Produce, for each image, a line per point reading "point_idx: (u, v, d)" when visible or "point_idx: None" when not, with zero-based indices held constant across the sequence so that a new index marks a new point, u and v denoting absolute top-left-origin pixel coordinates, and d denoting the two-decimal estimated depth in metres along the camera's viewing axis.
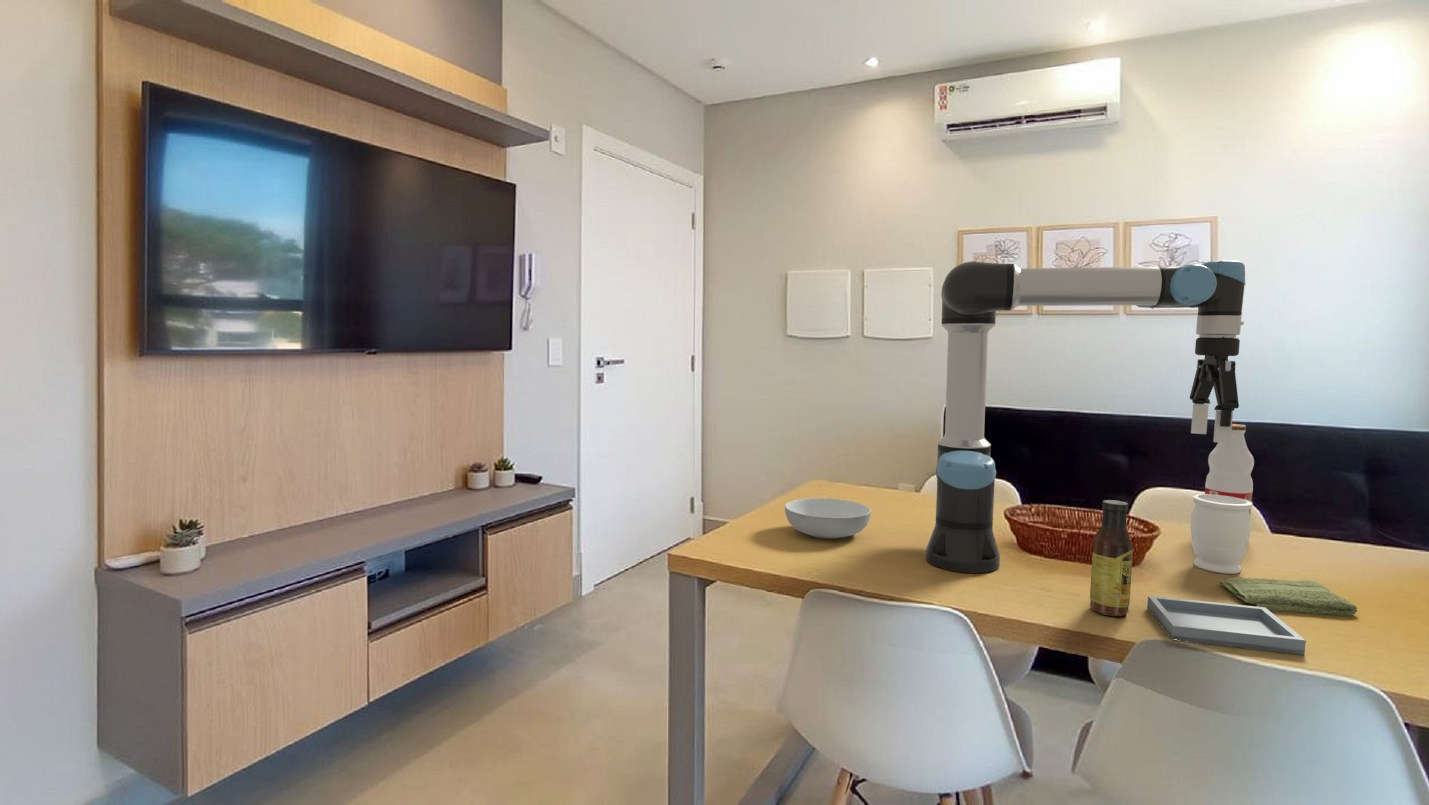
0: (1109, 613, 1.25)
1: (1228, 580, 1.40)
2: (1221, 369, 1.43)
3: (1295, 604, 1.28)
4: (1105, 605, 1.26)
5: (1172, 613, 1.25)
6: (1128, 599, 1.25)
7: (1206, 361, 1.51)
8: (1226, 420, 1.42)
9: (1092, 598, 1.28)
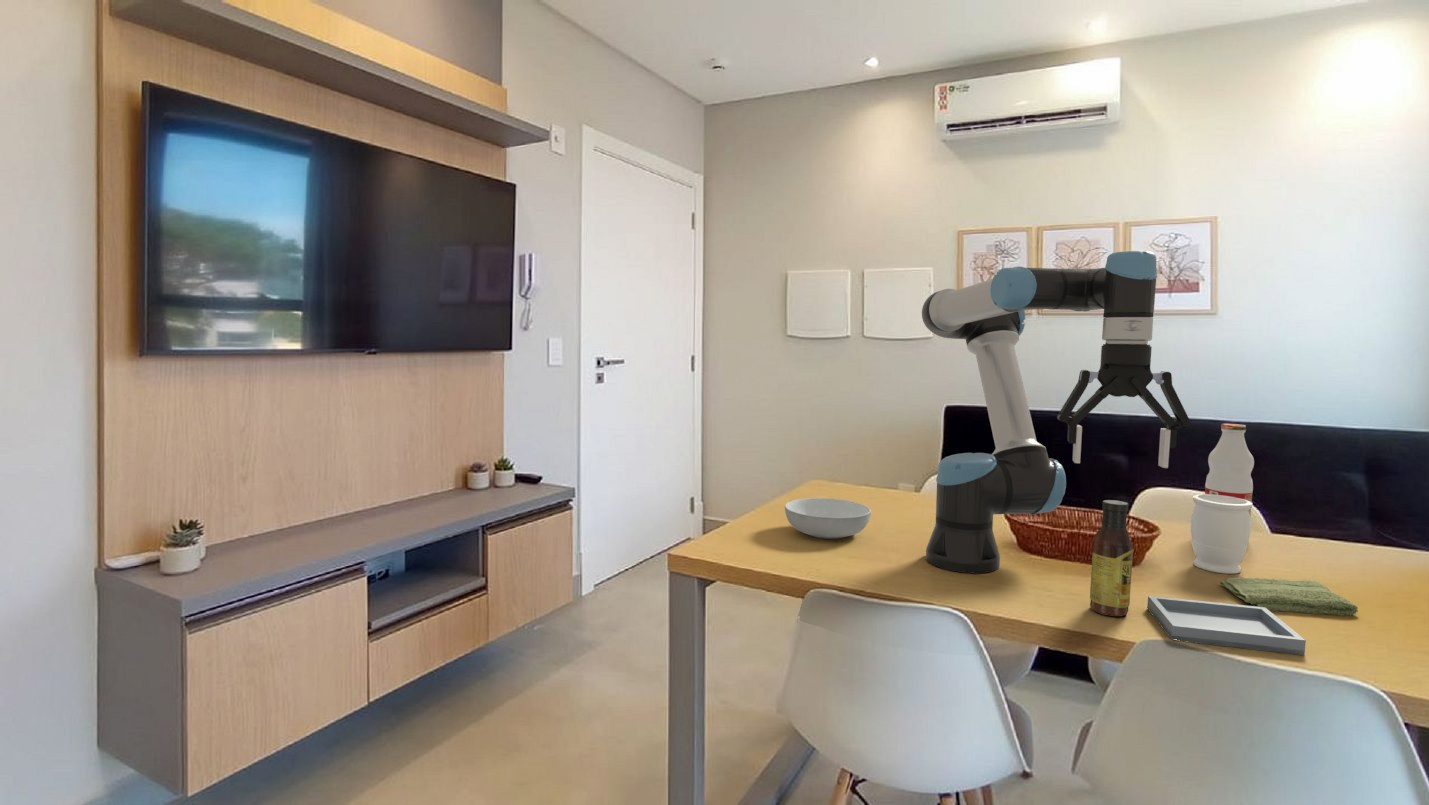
0: (1109, 613, 1.25)
1: (1228, 580, 1.40)
2: None
3: (1295, 604, 1.28)
4: (1105, 605, 1.26)
5: (1172, 613, 1.25)
6: (1128, 599, 1.25)
7: None
8: (1068, 435, 1.27)
9: (1092, 598, 1.28)
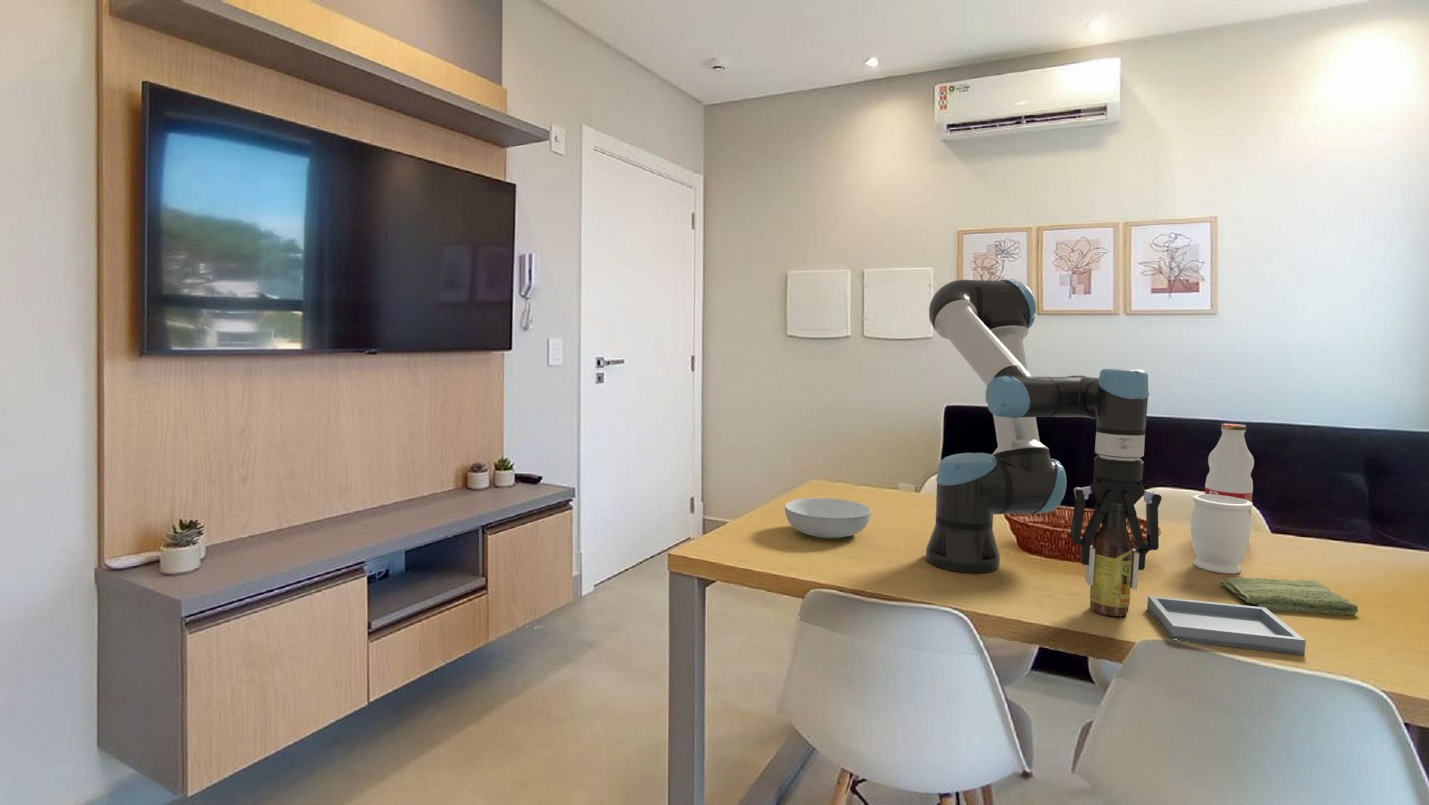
0: (1109, 613, 1.25)
1: (1229, 580, 1.40)
2: None
3: (1296, 604, 1.28)
4: (1105, 605, 1.26)
5: (1172, 613, 1.25)
6: (1128, 599, 1.25)
7: None
8: (1081, 556, 1.29)
9: (1092, 598, 1.28)
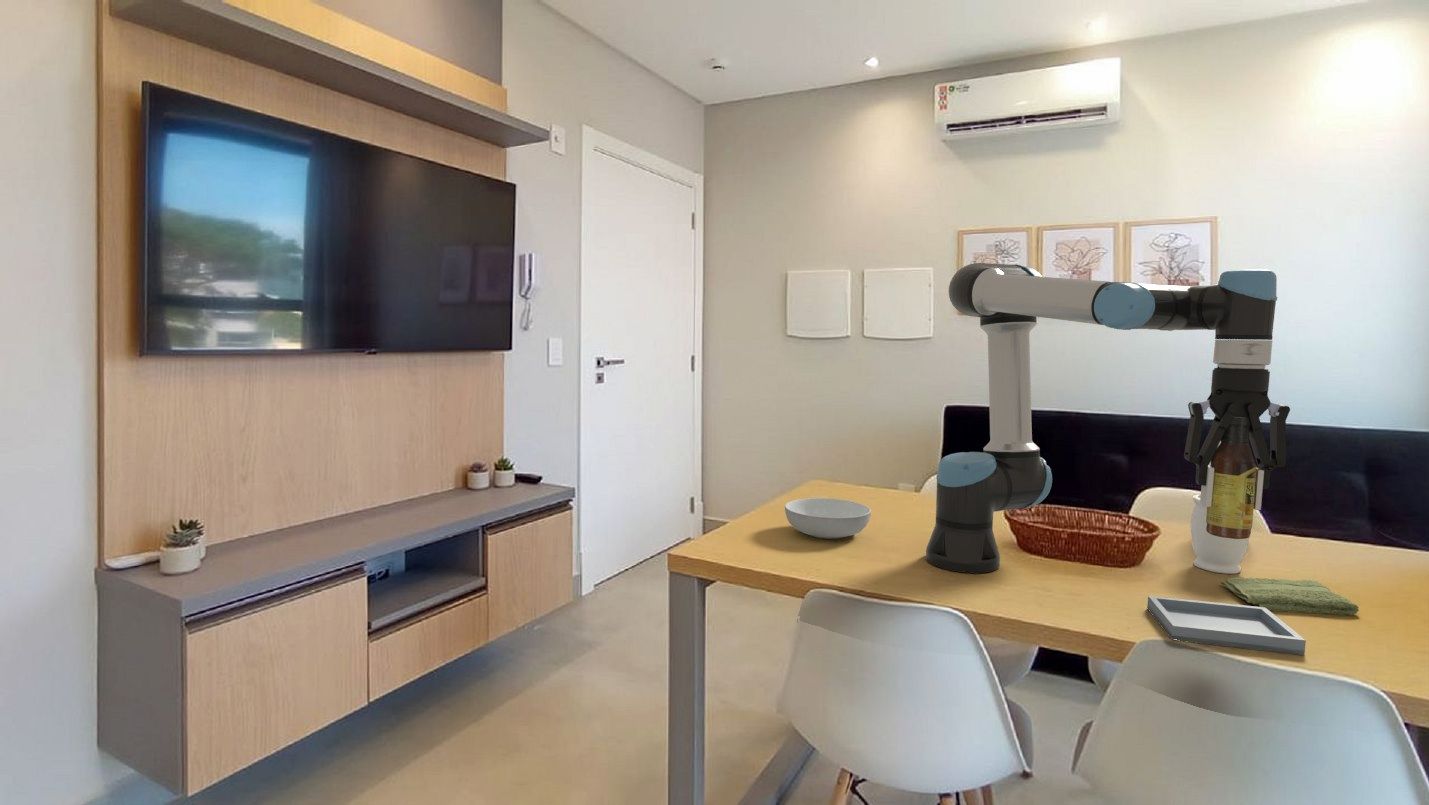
0: (1231, 535, 1.16)
1: (1229, 580, 1.40)
2: None
3: (1297, 604, 1.28)
4: (1226, 527, 1.16)
5: (1172, 613, 1.25)
6: (1251, 520, 1.16)
7: None
8: (1197, 476, 1.19)
9: (1210, 521, 1.18)
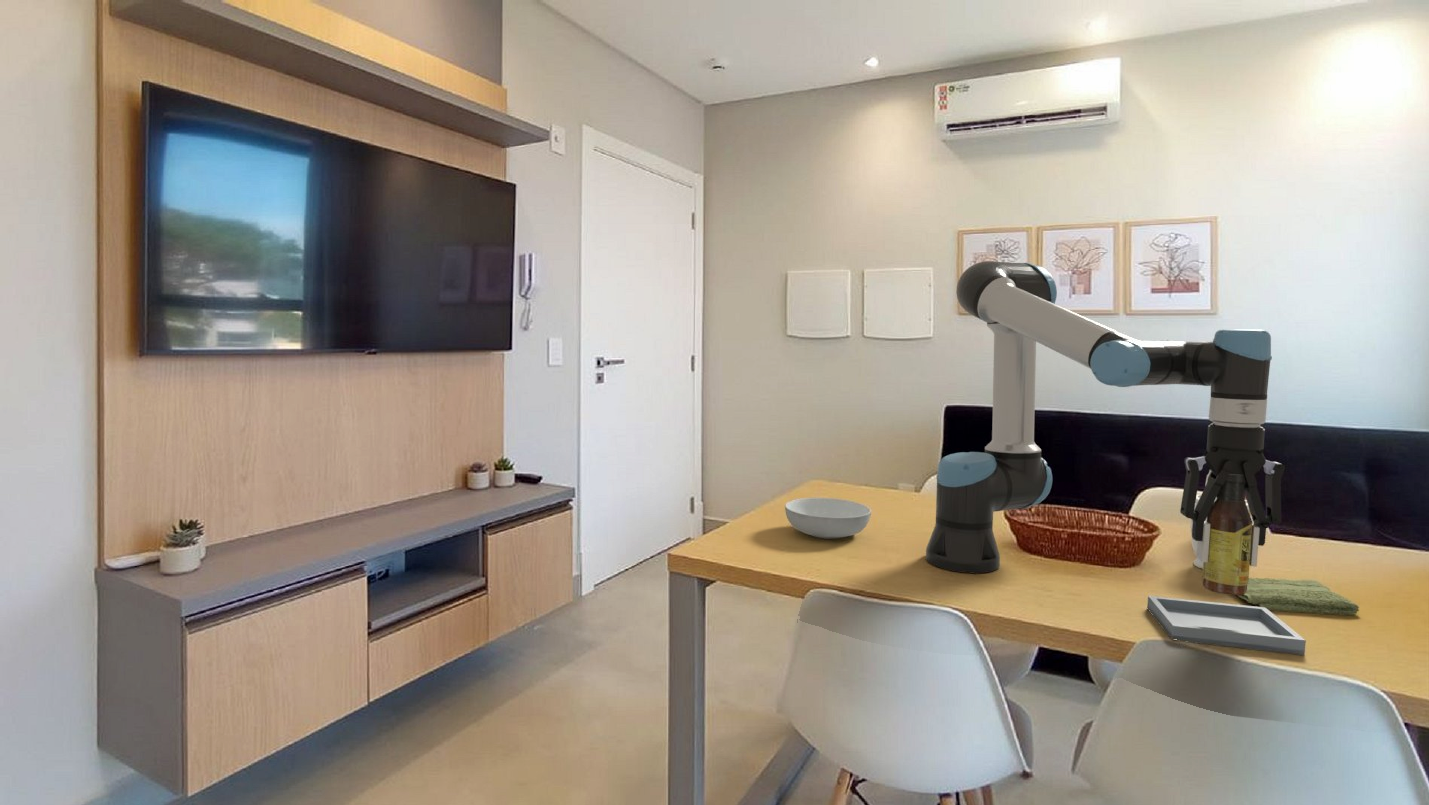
0: (1227, 592, 1.16)
1: None
2: None
3: (1297, 604, 1.29)
4: (1222, 584, 1.17)
5: (1172, 613, 1.25)
6: (1247, 577, 1.17)
7: None
8: (1193, 532, 1.20)
9: (1206, 576, 1.19)
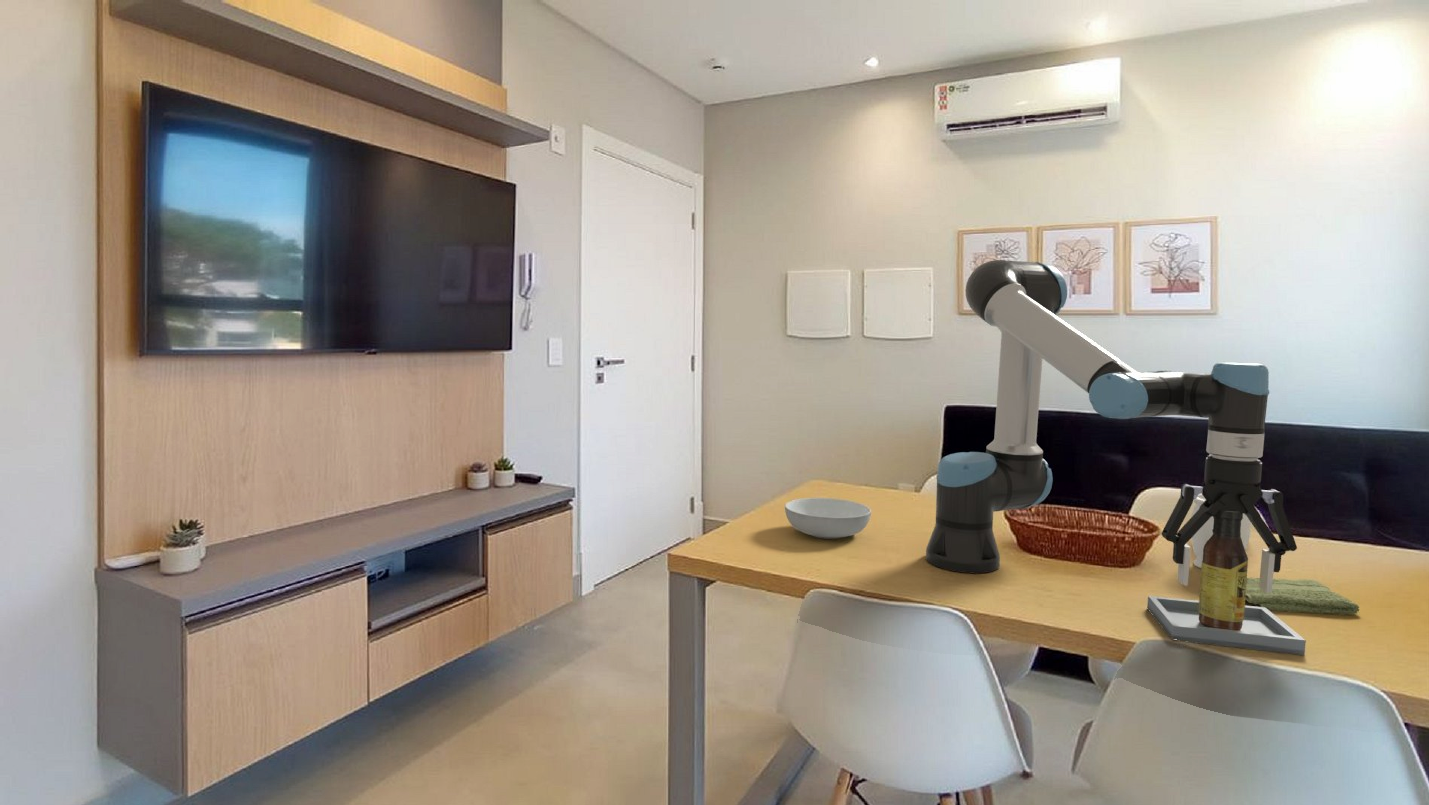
0: (1223, 628, 1.17)
1: None
2: None
3: (1298, 604, 1.29)
4: (1218, 620, 1.18)
5: (1172, 613, 1.25)
6: (1243, 613, 1.17)
7: None
8: (1174, 554, 1.21)
9: (1202, 612, 1.20)
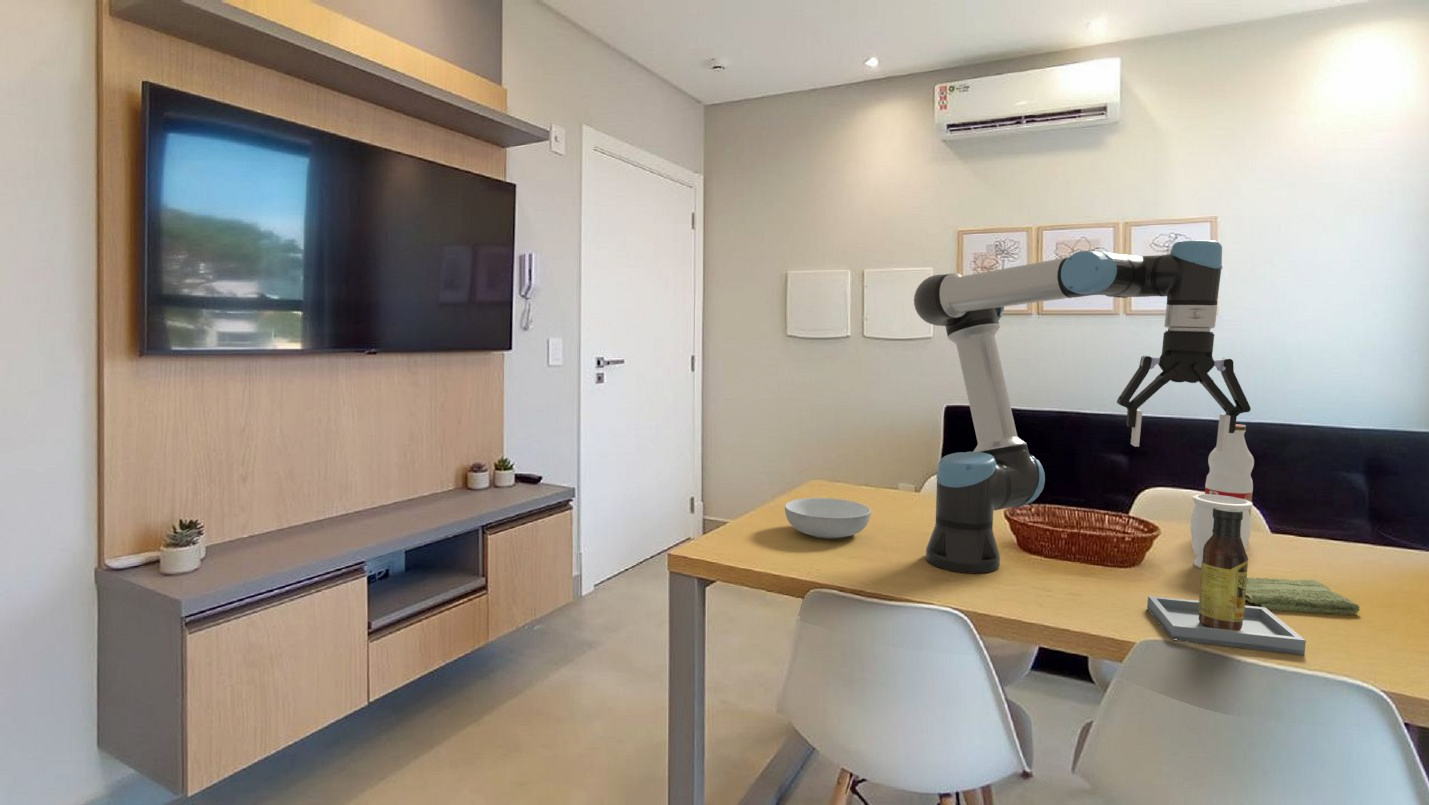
0: (1223, 628, 1.17)
1: None
2: None
3: (1299, 604, 1.29)
4: (1218, 620, 1.18)
5: (1172, 613, 1.25)
6: (1243, 613, 1.17)
7: None
8: (1127, 419, 1.31)
9: (1202, 612, 1.20)
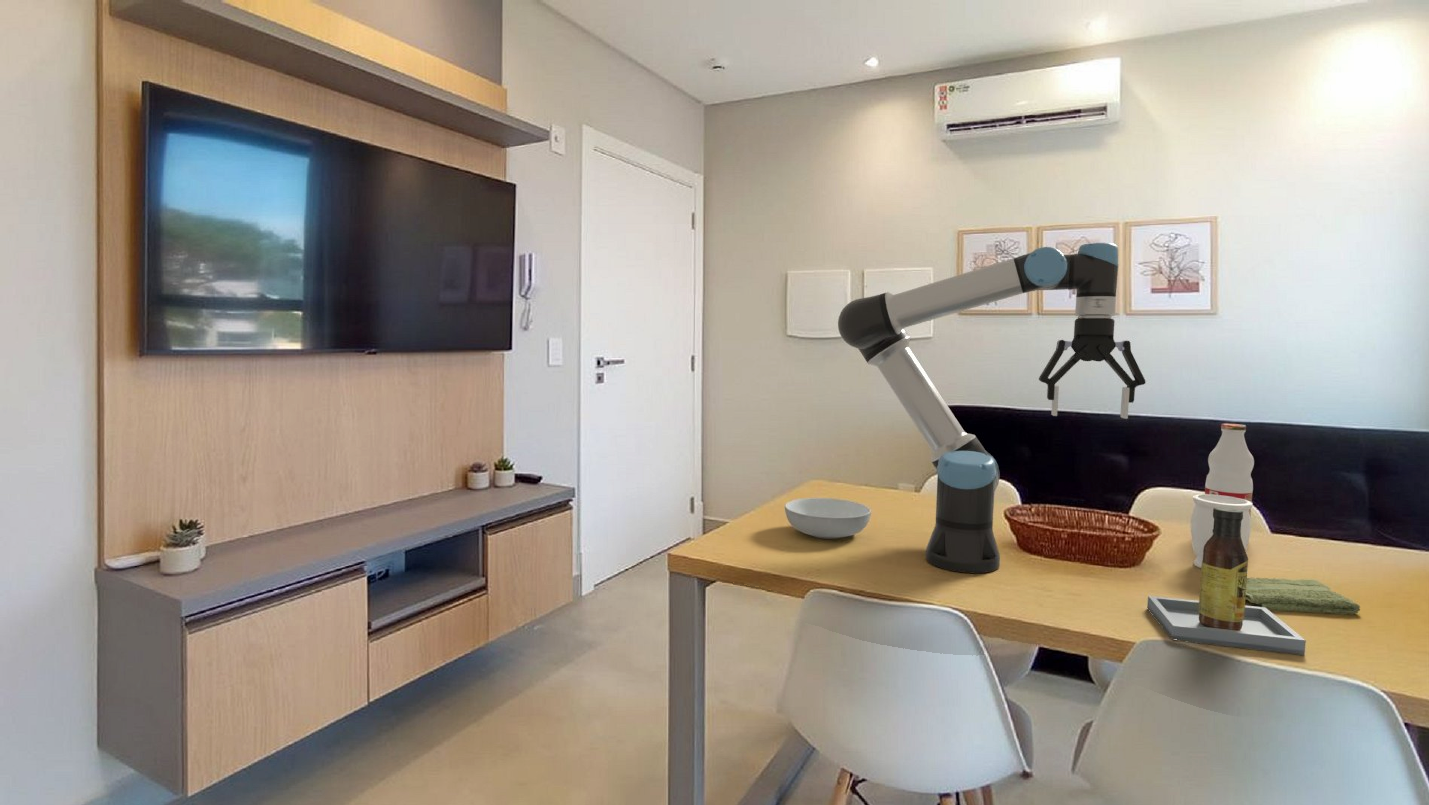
0: (1223, 628, 1.17)
1: None
2: None
3: (1299, 604, 1.29)
4: (1218, 620, 1.18)
5: (1172, 613, 1.25)
6: (1243, 613, 1.17)
7: None
8: (1047, 393, 1.56)
9: (1202, 612, 1.20)
